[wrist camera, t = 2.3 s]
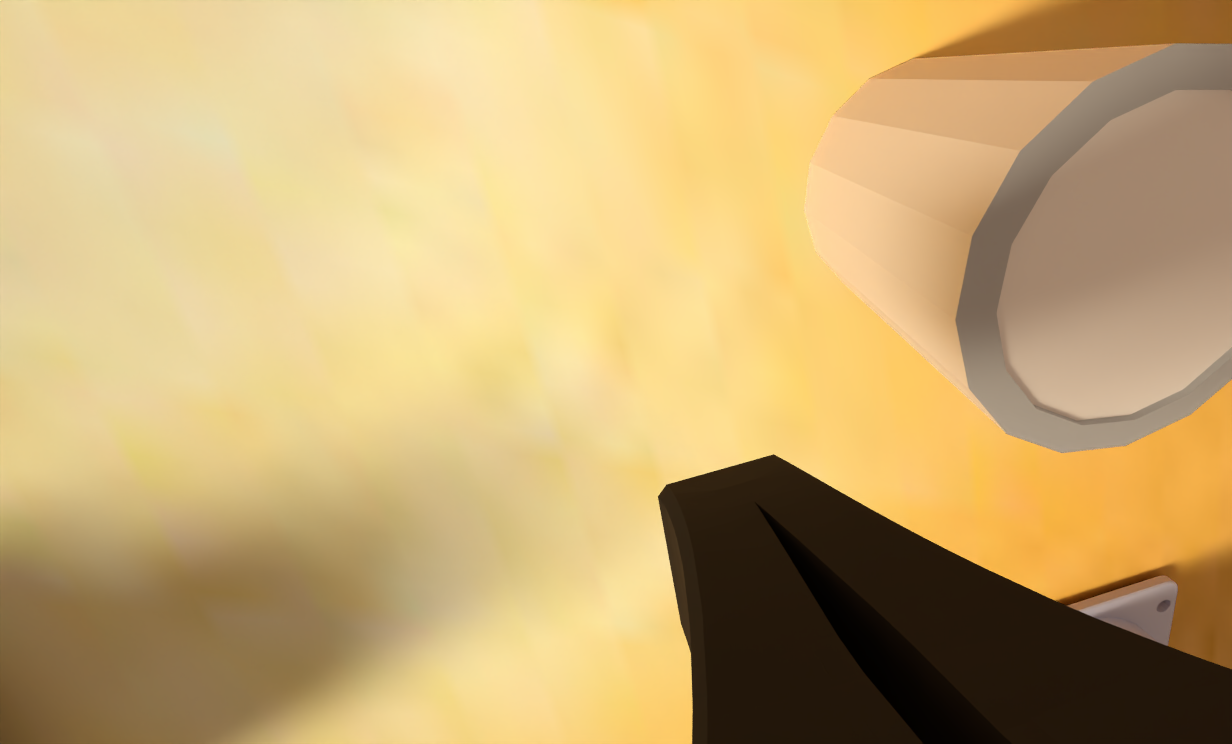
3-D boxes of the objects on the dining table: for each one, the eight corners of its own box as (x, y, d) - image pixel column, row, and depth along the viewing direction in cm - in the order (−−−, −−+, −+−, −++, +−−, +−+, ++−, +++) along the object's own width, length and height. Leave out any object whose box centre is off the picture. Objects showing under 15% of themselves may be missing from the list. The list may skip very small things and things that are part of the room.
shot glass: (850, 370, 21) (1034, 524, 15) (727, 146, 18) (895, 223, 12) (1077, 215, 21) (1363, 307, 14) (991, -41, 18) (1310, -64, 11)
